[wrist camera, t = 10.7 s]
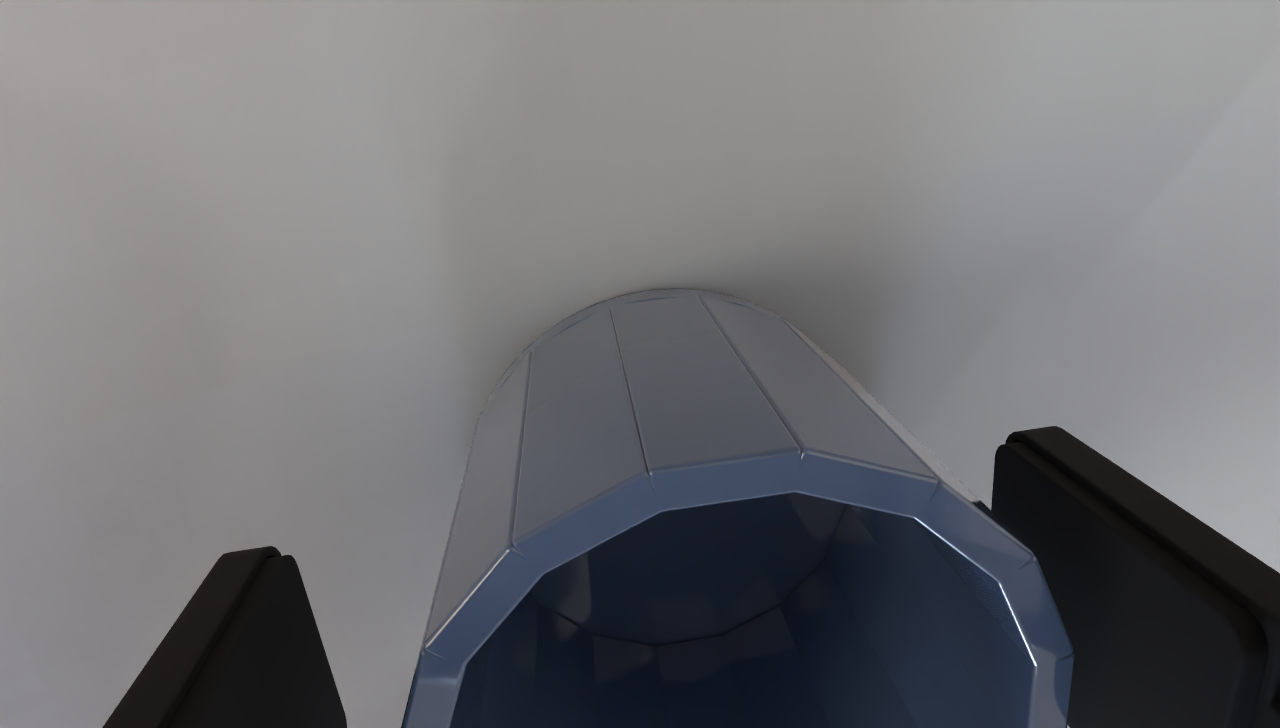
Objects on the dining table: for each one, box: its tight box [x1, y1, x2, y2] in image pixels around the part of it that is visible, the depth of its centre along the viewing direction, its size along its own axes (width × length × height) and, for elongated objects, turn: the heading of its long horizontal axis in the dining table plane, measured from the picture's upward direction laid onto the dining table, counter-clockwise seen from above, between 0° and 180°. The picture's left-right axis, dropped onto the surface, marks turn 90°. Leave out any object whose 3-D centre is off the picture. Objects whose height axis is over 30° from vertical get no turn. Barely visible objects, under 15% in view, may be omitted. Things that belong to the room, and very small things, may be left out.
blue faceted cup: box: [401, 289, 1075, 728], centre depth 11 cm, size 7×7×6 cm
